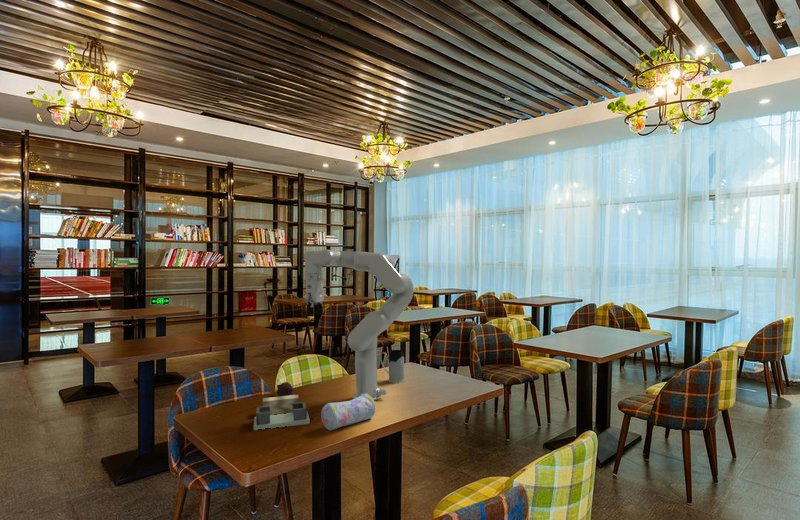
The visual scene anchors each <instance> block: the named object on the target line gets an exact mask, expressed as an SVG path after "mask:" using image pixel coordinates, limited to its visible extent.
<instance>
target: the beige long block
mask: <svg viewBox="0 0 800 520" xmlns="http://www.w3.org/2000/svg"><path fill="white" fill-rule="evenodd" d="M299 401H300V398H299V394H293V395H289V396H273V397H270V396H269V397H263V398H262V407H263V406H270V415H274V414H284V413H293V407H292V403H300V402H299Z"/></svg>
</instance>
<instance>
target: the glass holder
mask: <svg viewBox="0 0 800 520" xmlns="http://www.w3.org/2000/svg"><path fill="white" fill-rule="evenodd" d="M382 354H384V355H385V356H386V361H387V362H388V369H387V368H386V367H385V366H384V364H383V360H382ZM404 356H405V355H404V350H402V349H391V350H388V354H387V352H381V353H380V356H379V360H380V363H381V366H382V368H383V369H384V370H385V371H386V372H387V373H388V381H389V382H388V383H390V382H395V383H394V384H399V383H398V382H402V383H405V382H406V381H405V380H406V378H405V377H406V376H405V357H404ZM404 381H405V382H404ZM396 382H397V383H396Z"/></svg>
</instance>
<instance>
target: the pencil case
mask: <svg viewBox="0 0 800 520" xmlns="http://www.w3.org/2000/svg"><path fill="white" fill-rule="evenodd" d="M375 413H376V404H375V400H373V398H372V397H371V396H370V395H368V394H367V393H365V394H361V395H359V396H358V397H357V398H355V399H353V398H352V399H350V400H347V401H345V400H344V401H340V402H339V401H337V402H327V403H326V404H325V405H323V407H322V409H321V412H320V416H321V417H320V418H321V422H322V424H323V426H324V427H325V428H326V430H328V431H333V430H336V429H337V430H338V429H339V428H342V427H347V426H350V425H353V424H357V423H359V422H363V421H367V420H369V419H371V418H373V417H374V415H375Z"/></svg>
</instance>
